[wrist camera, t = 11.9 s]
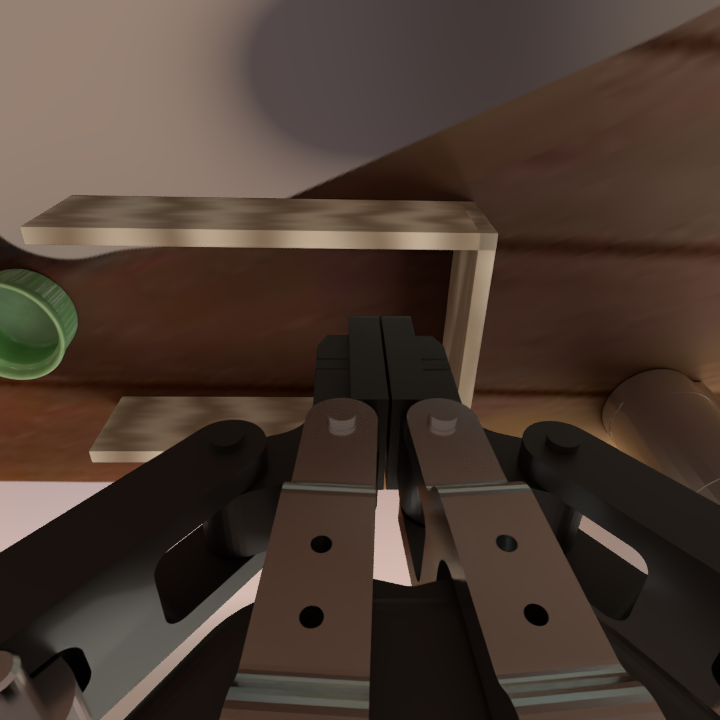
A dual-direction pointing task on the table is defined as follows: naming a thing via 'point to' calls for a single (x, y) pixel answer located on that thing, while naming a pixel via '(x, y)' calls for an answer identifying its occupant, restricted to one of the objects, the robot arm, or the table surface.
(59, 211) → the wooden c-shaped frame
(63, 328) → the ramekin
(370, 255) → the table surface
